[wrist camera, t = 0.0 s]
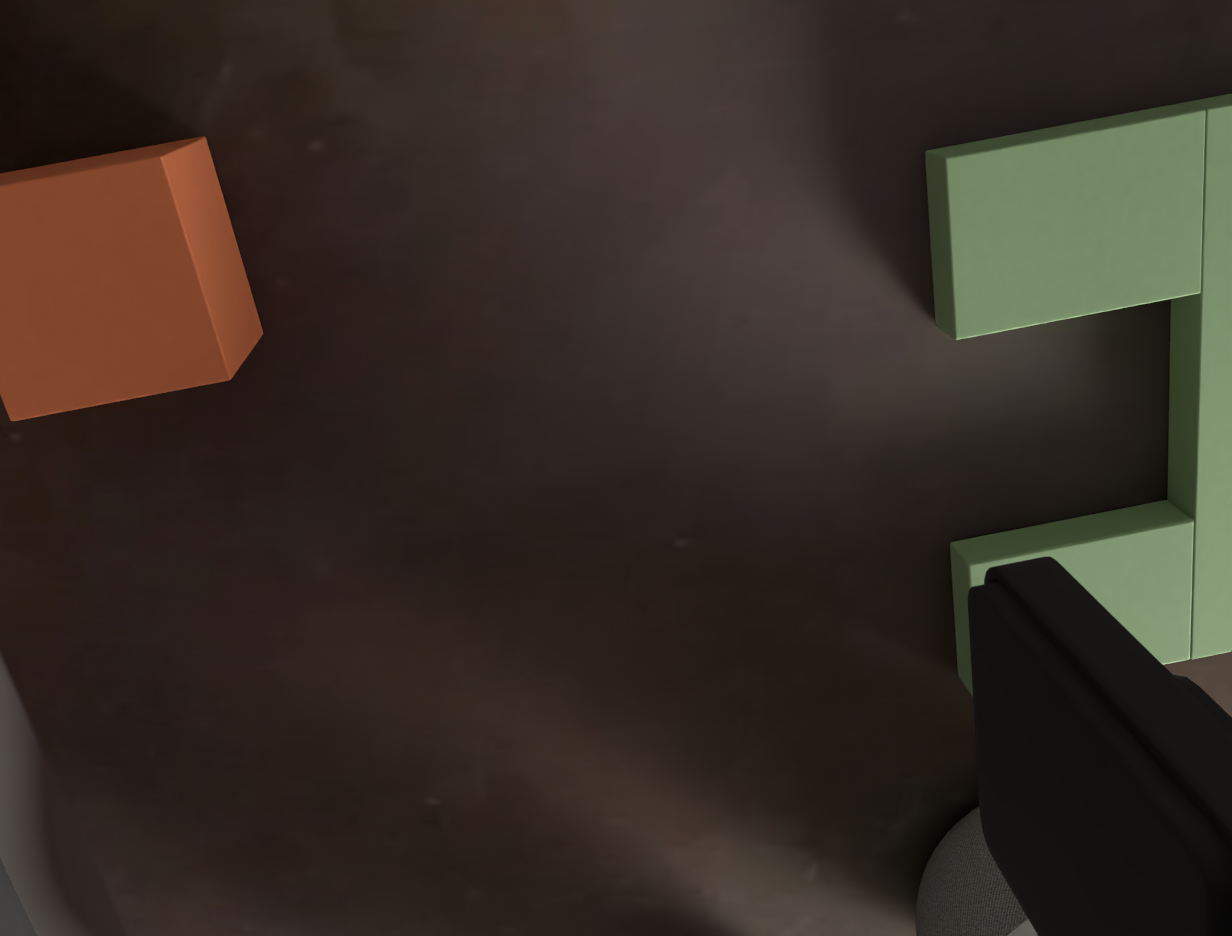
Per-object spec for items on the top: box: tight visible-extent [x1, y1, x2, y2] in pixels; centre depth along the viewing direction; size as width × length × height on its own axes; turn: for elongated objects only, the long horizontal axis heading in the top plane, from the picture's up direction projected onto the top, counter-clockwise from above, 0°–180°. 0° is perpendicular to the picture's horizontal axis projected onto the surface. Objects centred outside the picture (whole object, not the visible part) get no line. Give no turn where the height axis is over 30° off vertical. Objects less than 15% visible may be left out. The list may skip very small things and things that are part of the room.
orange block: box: [0, 136, 263, 421], centre depth 27 cm, size 5×5×4 cm
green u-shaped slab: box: [925, 93, 1232, 696], centre depth 32 cm, size 16×14×2 cm
